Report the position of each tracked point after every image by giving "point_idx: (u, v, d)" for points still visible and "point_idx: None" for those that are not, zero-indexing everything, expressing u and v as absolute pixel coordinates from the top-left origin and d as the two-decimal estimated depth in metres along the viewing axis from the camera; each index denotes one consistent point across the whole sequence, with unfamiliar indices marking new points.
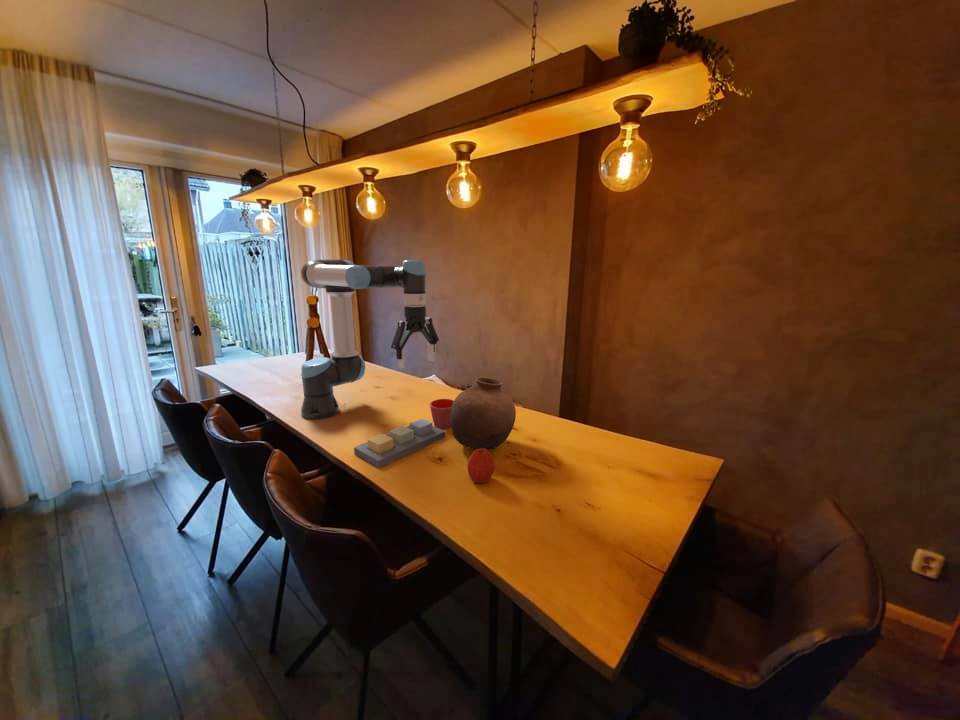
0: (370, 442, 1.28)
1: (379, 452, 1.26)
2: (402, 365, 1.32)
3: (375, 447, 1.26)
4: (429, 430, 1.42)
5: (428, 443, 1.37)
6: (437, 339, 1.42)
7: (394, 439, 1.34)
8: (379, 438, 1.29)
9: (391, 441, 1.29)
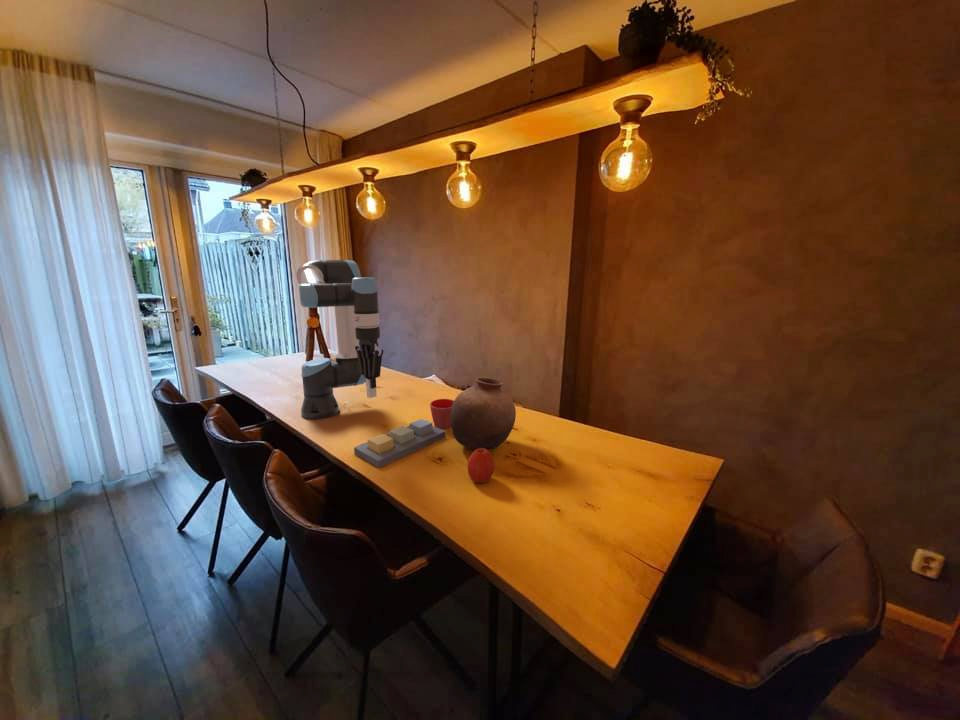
0: (370, 442, 1.28)
1: (379, 452, 1.26)
2: None
3: (375, 447, 1.26)
4: (429, 430, 1.42)
5: (428, 443, 1.37)
6: (372, 375, 1.22)
7: (394, 439, 1.34)
8: (379, 438, 1.29)
9: (391, 441, 1.29)
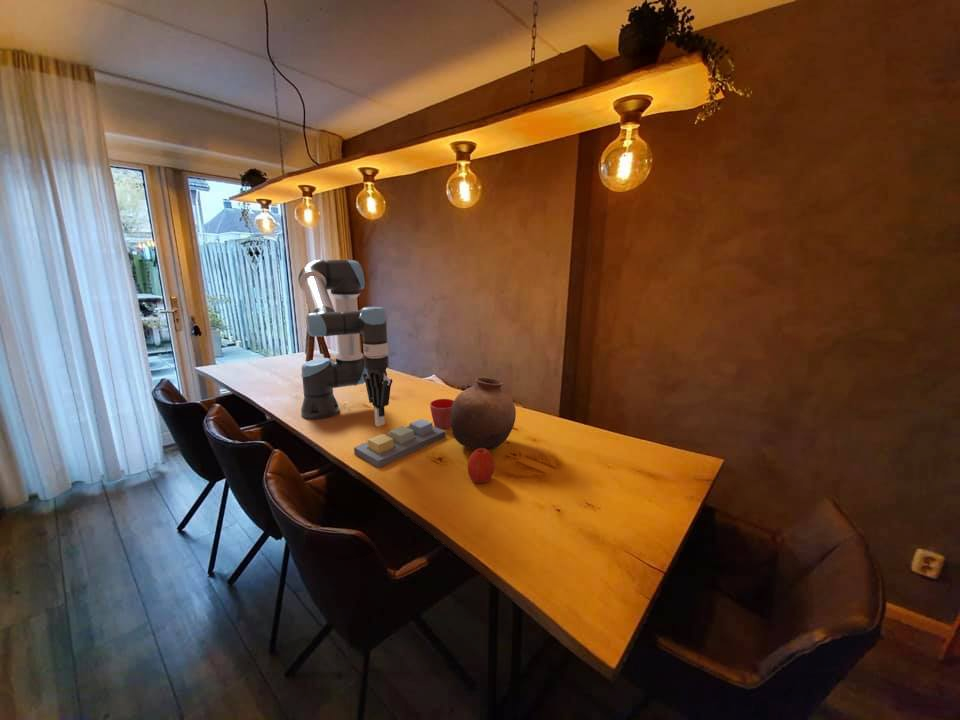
0: (370, 442, 1.28)
1: (379, 452, 1.26)
2: None
3: (375, 447, 1.26)
4: (429, 430, 1.42)
5: (428, 443, 1.37)
6: (381, 404, 1.22)
7: (394, 439, 1.34)
8: (379, 438, 1.29)
9: (391, 441, 1.29)
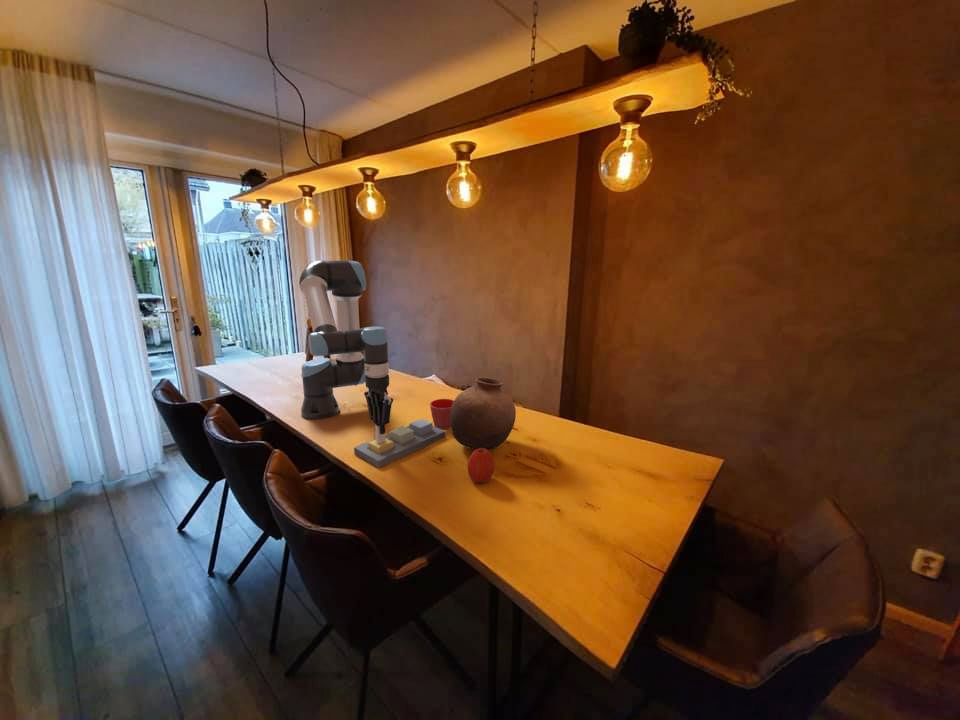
0: (370, 445, 1.28)
1: None
2: None
3: (375, 450, 1.26)
4: (429, 430, 1.42)
5: (428, 443, 1.37)
6: (382, 422, 1.24)
7: (394, 439, 1.34)
8: None
9: (391, 444, 1.29)
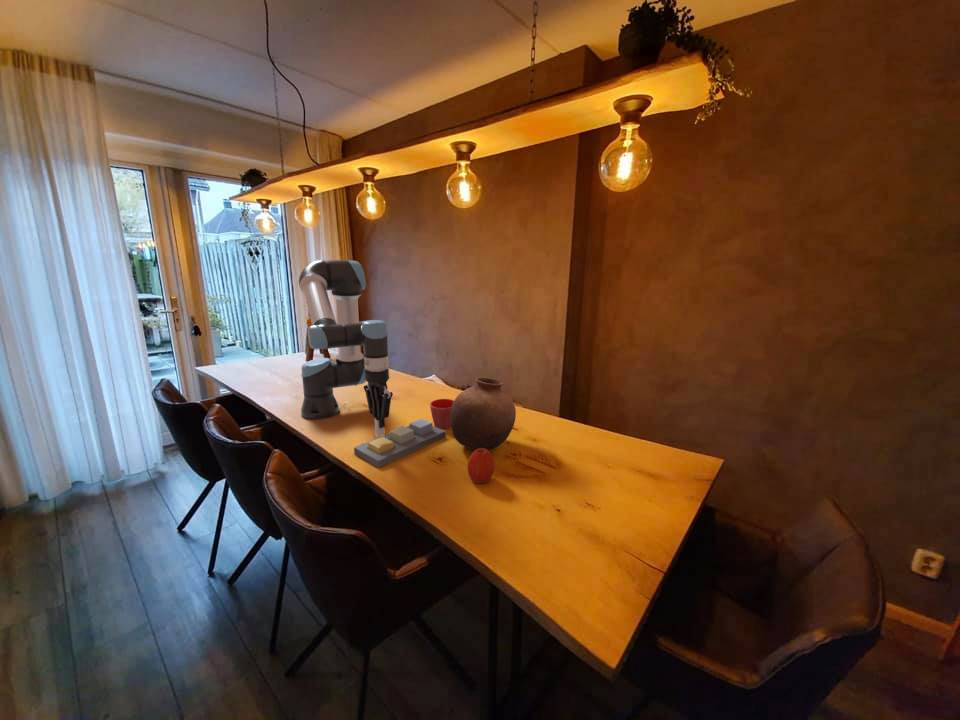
0: (370, 445, 1.28)
1: None
2: None
3: (375, 450, 1.26)
4: (429, 430, 1.42)
5: (428, 443, 1.37)
6: (381, 416, 1.24)
7: (394, 439, 1.34)
8: (379, 441, 1.30)
9: (391, 444, 1.29)
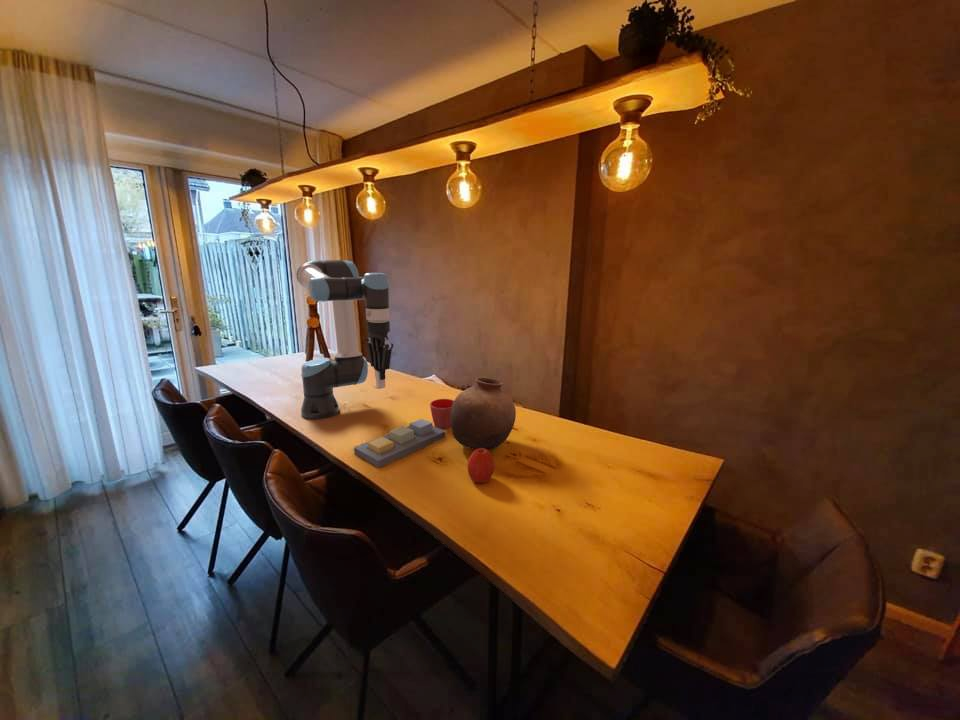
0: (370, 445, 1.28)
1: None
2: None
3: (375, 450, 1.26)
4: (429, 430, 1.42)
5: (428, 443, 1.37)
6: (382, 367, 1.27)
7: (394, 439, 1.34)
8: (379, 441, 1.30)
9: (391, 444, 1.29)
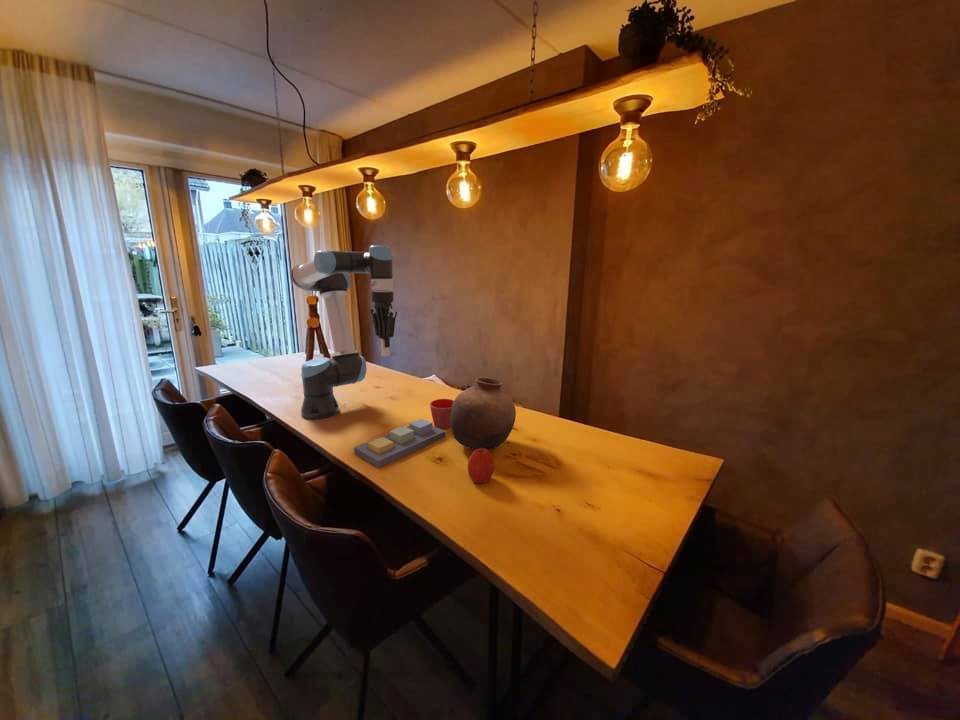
0: (370, 445, 1.28)
1: None
2: None
3: (375, 450, 1.26)
4: (429, 430, 1.42)
5: (428, 443, 1.37)
6: (387, 335, 1.36)
7: (394, 439, 1.34)
8: (379, 441, 1.30)
9: (391, 444, 1.29)
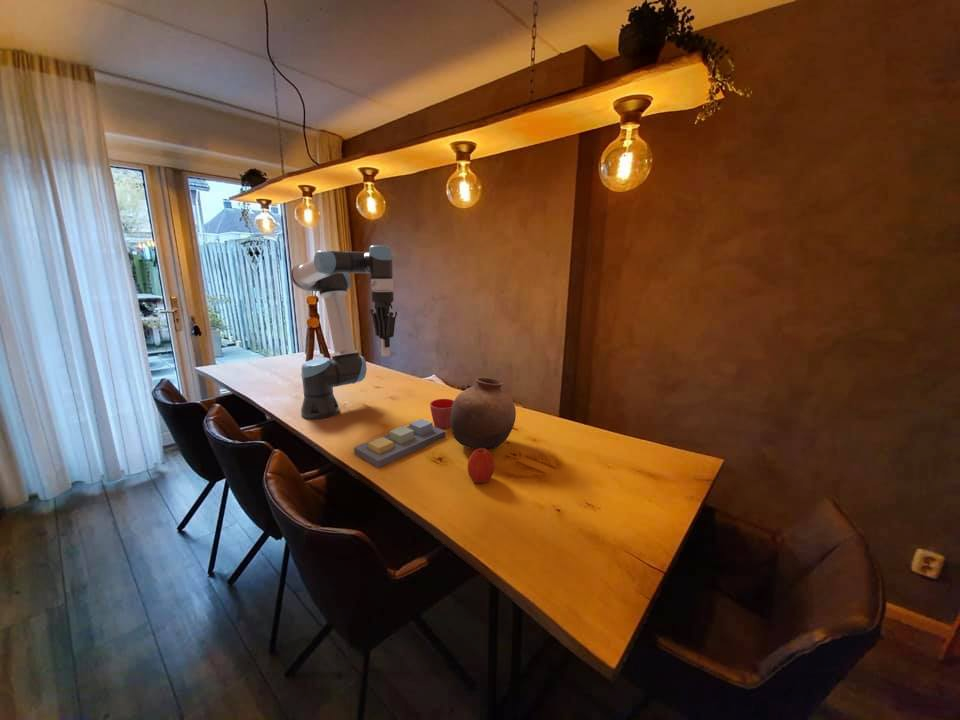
0: (370, 445, 1.28)
1: None
2: None
3: (375, 450, 1.26)
4: (429, 430, 1.42)
5: (428, 443, 1.37)
6: (387, 335, 1.36)
7: (394, 439, 1.34)
8: (379, 441, 1.30)
9: (391, 444, 1.29)
